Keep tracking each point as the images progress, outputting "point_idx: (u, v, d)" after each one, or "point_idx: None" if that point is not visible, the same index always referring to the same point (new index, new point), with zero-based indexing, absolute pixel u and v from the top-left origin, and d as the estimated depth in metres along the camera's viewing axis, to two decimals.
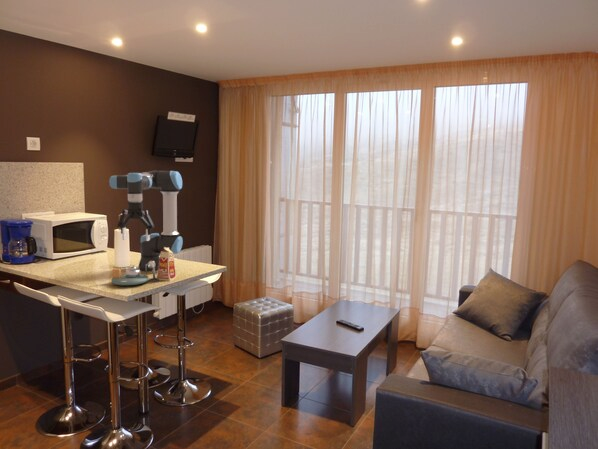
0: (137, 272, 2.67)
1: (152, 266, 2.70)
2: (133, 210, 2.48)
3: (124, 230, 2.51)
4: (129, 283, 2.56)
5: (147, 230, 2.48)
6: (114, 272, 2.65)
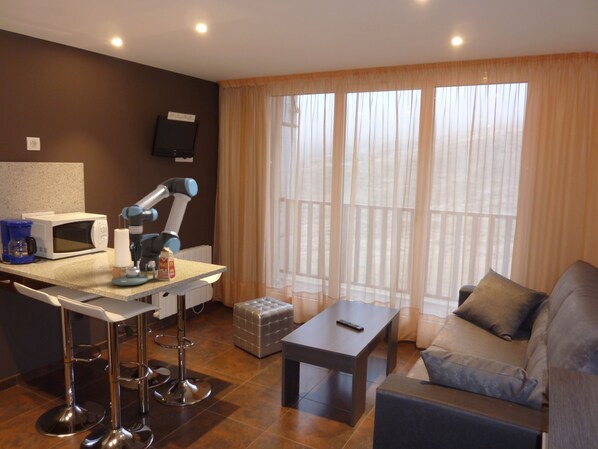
0: (137, 272, 2.67)
1: (152, 266, 2.70)
2: None
3: None
4: (129, 283, 2.56)
5: (134, 262, 2.72)
6: (114, 272, 2.65)
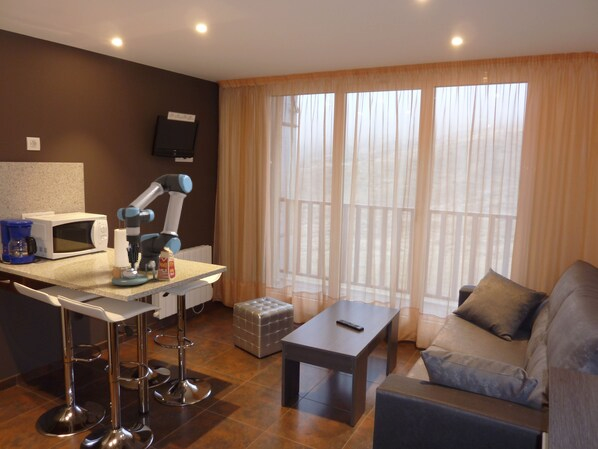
0: (134, 273, 2.63)
1: (152, 266, 2.70)
2: None
3: None
4: (129, 283, 2.56)
5: (131, 264, 2.69)
6: (114, 272, 2.65)
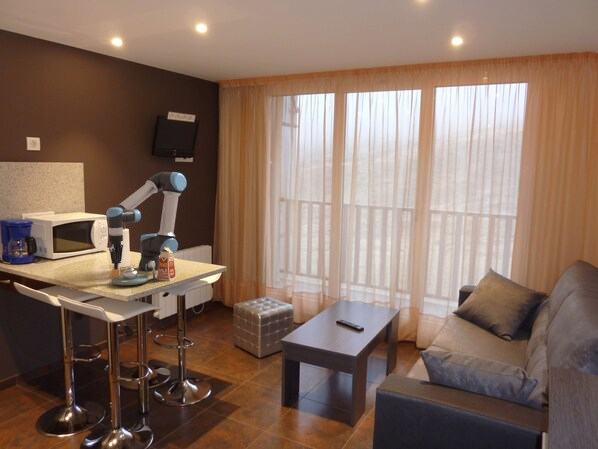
0: (134, 273, 2.63)
1: (152, 266, 2.70)
2: None
3: None
4: (130, 283, 2.56)
5: None
6: (114, 272, 2.64)
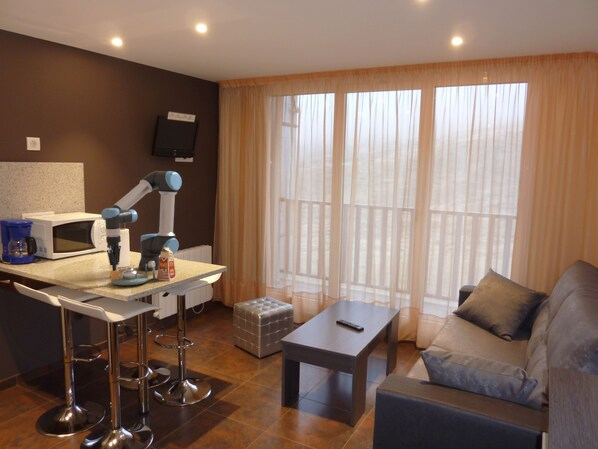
0: (136, 273, 2.65)
1: (152, 266, 2.70)
2: None
3: None
4: (140, 282, 2.60)
5: None
6: (113, 274, 2.60)
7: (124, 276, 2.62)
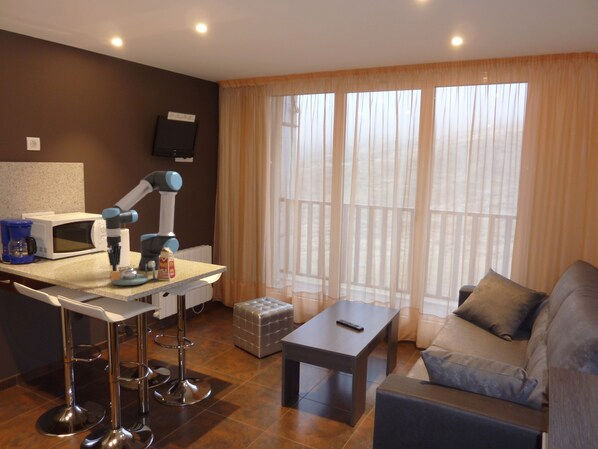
0: (136, 272, 2.66)
1: (152, 266, 2.70)
2: None
3: None
4: (142, 281, 2.61)
5: (112, 266, 2.61)
6: (114, 275, 2.59)
7: (125, 276, 2.62)
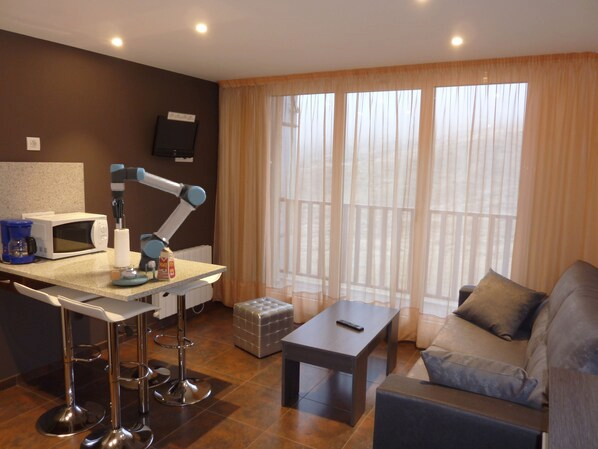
0: (136, 272, 2.66)
1: (152, 266, 2.70)
2: None
3: None
4: (141, 281, 2.60)
5: (116, 219, 2.78)
6: (114, 275, 2.59)
7: (125, 276, 2.62)
